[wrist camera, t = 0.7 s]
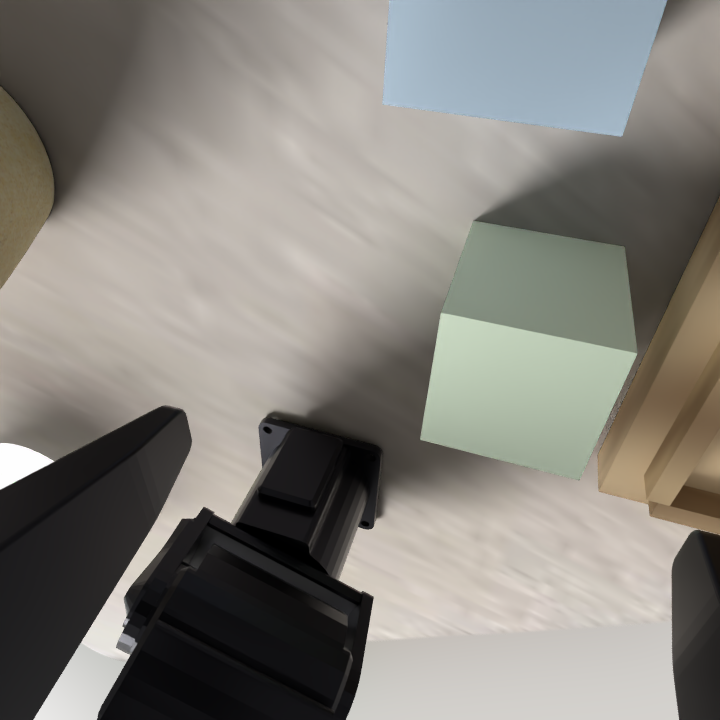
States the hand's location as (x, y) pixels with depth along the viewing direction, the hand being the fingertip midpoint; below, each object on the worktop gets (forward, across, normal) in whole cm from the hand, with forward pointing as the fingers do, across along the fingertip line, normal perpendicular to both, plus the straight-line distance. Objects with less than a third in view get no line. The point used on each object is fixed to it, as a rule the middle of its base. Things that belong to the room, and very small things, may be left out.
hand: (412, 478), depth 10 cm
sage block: (+12, -2, +3) cm, 13 cm away
